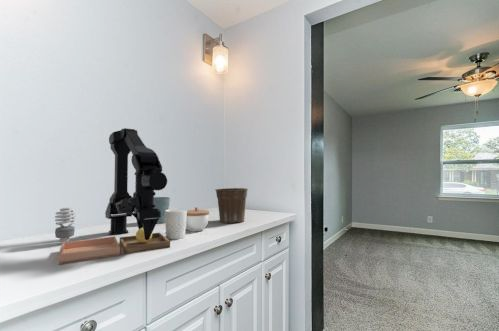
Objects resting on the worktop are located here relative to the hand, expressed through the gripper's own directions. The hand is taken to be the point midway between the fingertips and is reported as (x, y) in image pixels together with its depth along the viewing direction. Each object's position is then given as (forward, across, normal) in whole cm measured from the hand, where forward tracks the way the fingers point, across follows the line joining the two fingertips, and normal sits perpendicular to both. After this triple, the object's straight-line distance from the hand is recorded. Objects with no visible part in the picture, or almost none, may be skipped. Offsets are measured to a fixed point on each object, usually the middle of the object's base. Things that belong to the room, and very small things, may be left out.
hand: (144, 236), depth 83 cm
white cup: (+3, -5, +12) cm, 13 cm away
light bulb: (+3, -17, -22) cm, 28 cm away
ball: (+2, 0, 0) cm, 2 cm away
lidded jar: (+3, -13, +23) cm, 27 cm away
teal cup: (+3, -39, +14) cm, 41 cm away
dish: (+3, 0, -15) cm, 15 cm away
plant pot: (+3, -22, +45) cm, 50 cm away
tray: (+3, 0, 0) cm, 3 cm away
